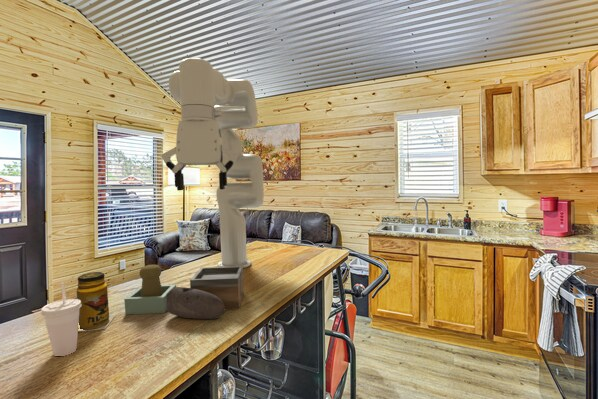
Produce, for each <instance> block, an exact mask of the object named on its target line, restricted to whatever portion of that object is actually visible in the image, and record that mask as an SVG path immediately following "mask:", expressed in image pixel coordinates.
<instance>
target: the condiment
mask: <svg viewBox="0 0 598 399" xmlns="http://www.w3.org/2000/svg"><path fill="white" fill-rule="evenodd" d="M105 276H106V275H105V274H104V272H102V271H101V272H100V271H95V272H94V271H92V272H87V273H84V274H81V275H79V276H78V277H77V281H78V282H77V288H76V299H79V300H81V307H80V309H79V325H80V329H83V330H88V331H87V332H91V331H93V332H94V331H98V330H99V331H100V330H105V329H106V328H107V327H108V326H109V325H110V324H111V322H112V321H113V319H114V318H115V317H116V314H113V315H110V309H109V294H108V284H107V283H106V278H105ZM79 332H80V333H81V332H83V331H78V333H79Z"/></svg>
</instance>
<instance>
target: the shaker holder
mask: <svg viewBox="0 0 598 399" xmlns="http://www.w3.org/2000/svg"><path fill="white" fill-rule="evenodd" d="M175 287H177V284H161V288H162V293H163V295H162V296H152V297H141V290H142V285H140V286H139V287H138V288H136V289H135V290H134V291H133V292H131V293H130V294H129V295H128V296H126V297H125V298H124V315H145V314H147V315H148V314H164V313H166V311H168V310H167V307H166V294H167V293H168V292H169V291H170V290H171V289H172V288H175Z"/></svg>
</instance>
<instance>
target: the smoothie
mask: <svg viewBox="0 0 598 399" xmlns="http://www.w3.org/2000/svg"><path fill="white" fill-rule="evenodd" d="M60 283H61V284H60V285H61V294H62V296H61V297H62V298H61V299H59V300H57V301H53V302H50V303H48V304H46V305H44V306H43V307H41V309H40V312H41V313H40V315H41V316H42V317H43V319H44V323H45V326H46V330H47V334H48V338H49V342H50V347H51V350H52V354H54V355H55V356H64V357H66V356H65V355H67V356H69V355H68V354H70V355H72V354H74V353H75V352H76V351H77V350H78V349H77V348H78V337H79V335H78V333H79V332H78V323H79V309H80V307H81V300H79V299H77V298H67V295H66V284H65V283H66V282H65V281H61V282H60ZM76 349H77V350H76ZM73 352H74V353H73ZM71 353H72V354H71ZM54 355H53V356H54Z"/></svg>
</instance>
